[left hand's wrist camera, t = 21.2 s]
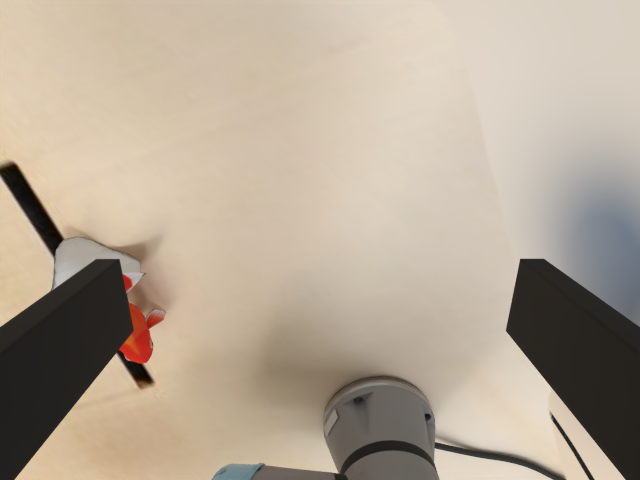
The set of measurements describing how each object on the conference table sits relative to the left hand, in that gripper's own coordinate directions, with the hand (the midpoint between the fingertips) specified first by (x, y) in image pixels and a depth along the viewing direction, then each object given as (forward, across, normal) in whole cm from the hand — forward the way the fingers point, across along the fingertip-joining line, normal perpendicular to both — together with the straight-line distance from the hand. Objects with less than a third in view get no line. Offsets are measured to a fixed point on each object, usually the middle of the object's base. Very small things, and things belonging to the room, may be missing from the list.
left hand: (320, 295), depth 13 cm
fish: (+30, -24, -15) cm, 41 cm away
